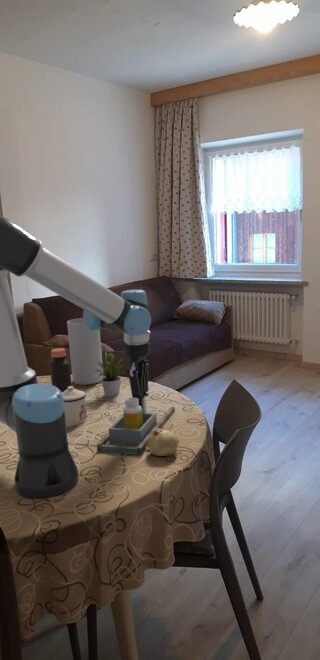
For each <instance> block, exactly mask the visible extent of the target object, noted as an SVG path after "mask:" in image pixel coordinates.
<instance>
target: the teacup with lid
mask: <svg viewBox="0 0 320 660" xmlns="http://www.w3.org/2000/svg"><path fill="white" fill-rule="evenodd" d="M62 395H63V400H64V402H65V417H66V427H77V426H79V425H81V424H82V423H85V422H86V421H87V420H88V413H87V405H86V403H87V402H86V401H87V400H86V396H87V395H86V393H85V392H84V391H83V390H79V389H76V388H74V386H73V385H72V386H70V387H68V388H67V390H66V391H64V392H62Z"/></svg>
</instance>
